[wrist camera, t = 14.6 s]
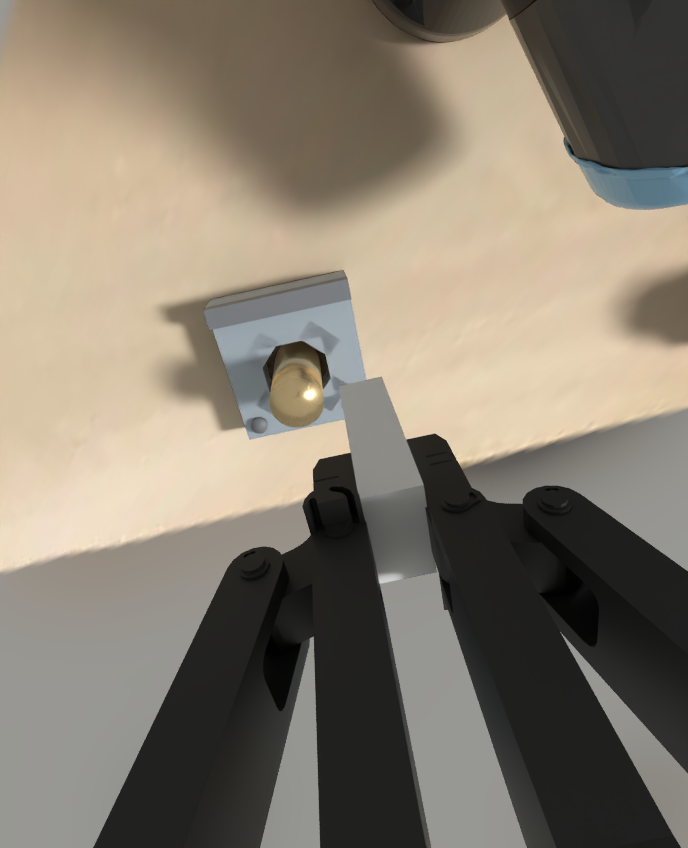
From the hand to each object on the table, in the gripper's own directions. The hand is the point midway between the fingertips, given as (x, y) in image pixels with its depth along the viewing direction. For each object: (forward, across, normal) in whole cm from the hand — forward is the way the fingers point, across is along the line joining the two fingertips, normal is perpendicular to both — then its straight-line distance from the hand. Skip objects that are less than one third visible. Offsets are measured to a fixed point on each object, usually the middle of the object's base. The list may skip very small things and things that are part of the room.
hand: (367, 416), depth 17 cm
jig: (+32, -5, -8) cm, 34 cm away
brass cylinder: (+32, -5, -9) cm, 34 cm away
